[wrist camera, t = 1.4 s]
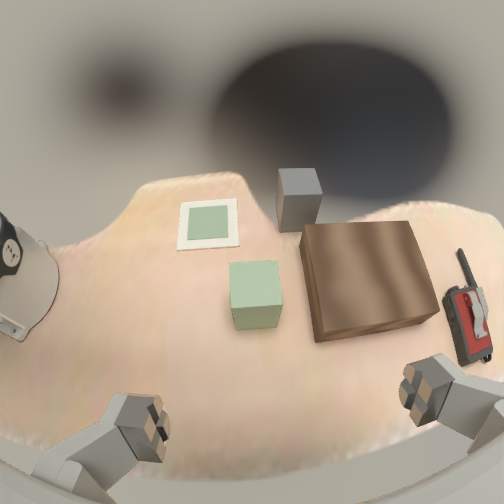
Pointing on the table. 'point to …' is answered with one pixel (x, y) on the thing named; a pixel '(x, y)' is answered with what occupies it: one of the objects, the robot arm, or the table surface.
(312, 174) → the grey block
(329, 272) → the walnut plinth
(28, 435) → the table surface
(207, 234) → the swatch
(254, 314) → the sage block
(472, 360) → the walkie-talkie
